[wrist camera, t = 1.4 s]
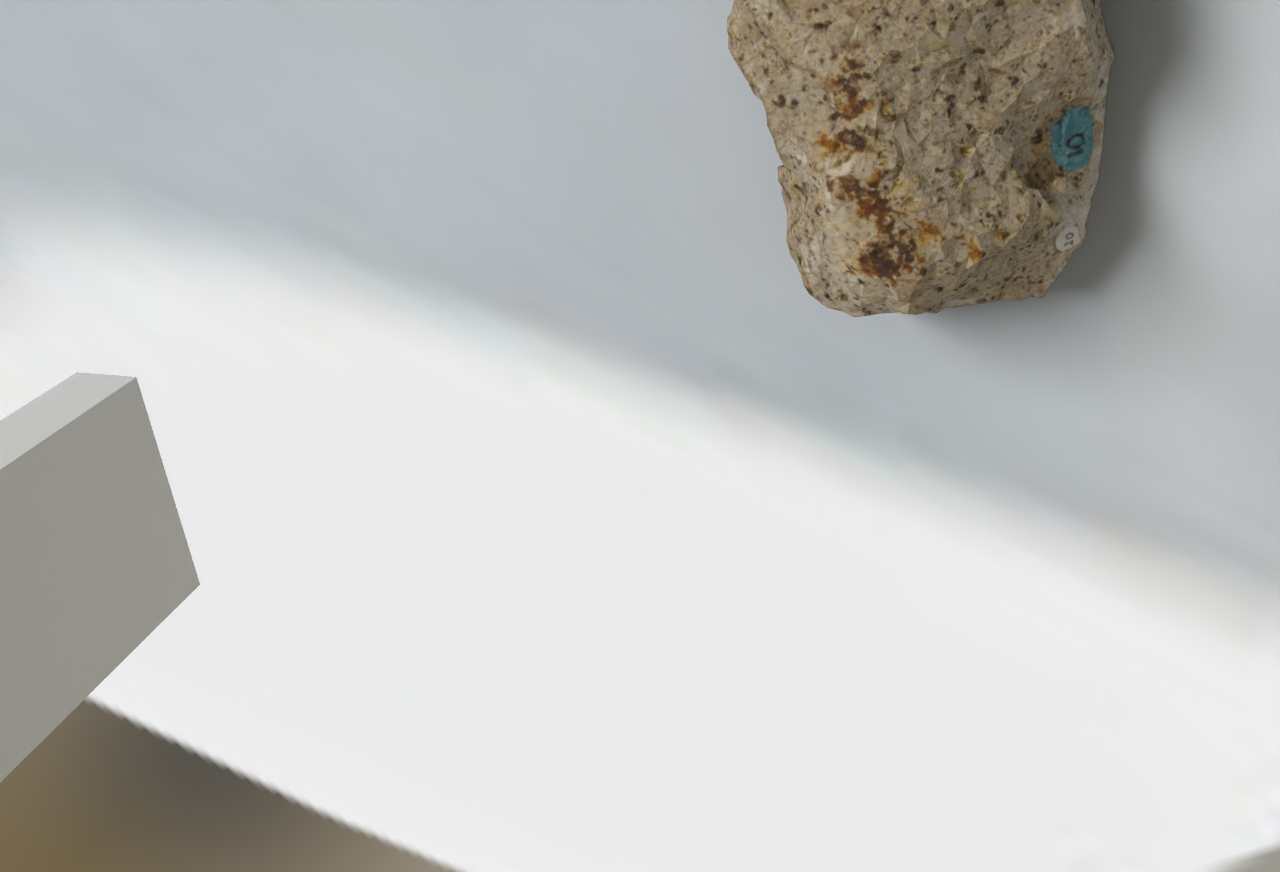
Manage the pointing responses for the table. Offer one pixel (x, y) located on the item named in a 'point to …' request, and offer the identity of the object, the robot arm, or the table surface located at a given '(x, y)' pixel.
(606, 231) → the table surface
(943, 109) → the rock
